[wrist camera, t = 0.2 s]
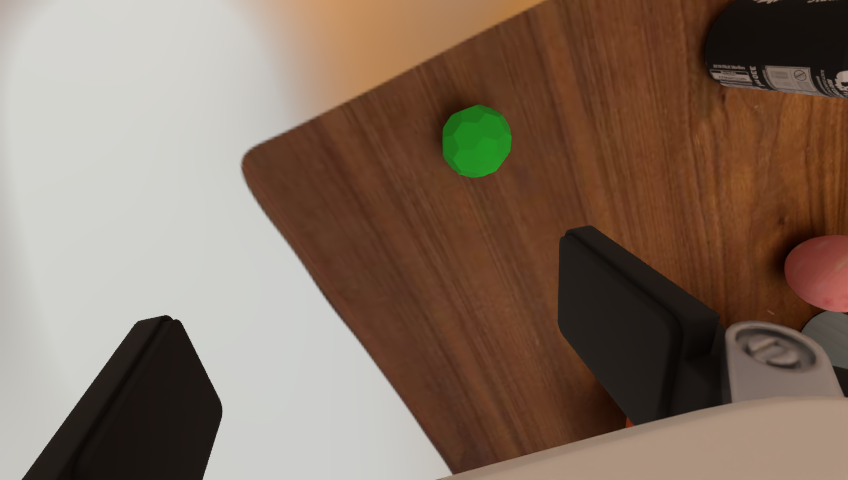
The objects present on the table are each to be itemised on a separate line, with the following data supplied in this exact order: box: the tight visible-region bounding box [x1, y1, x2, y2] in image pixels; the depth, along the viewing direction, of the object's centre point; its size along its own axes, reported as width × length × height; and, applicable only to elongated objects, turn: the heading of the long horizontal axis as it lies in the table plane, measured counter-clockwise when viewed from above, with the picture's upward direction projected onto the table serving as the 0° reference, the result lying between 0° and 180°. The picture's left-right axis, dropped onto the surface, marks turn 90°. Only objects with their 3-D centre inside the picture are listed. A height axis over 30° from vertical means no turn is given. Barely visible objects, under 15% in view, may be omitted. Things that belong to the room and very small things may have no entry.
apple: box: [784, 235, 848, 312], centre depth 40 cm, size 7×7×8 cm
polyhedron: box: [442, 104, 511, 178], centre depth 29 cm, size 5×5×5 cm
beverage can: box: [704, 0, 848, 99], centre depth 27 cm, size 7×7×12 cm
